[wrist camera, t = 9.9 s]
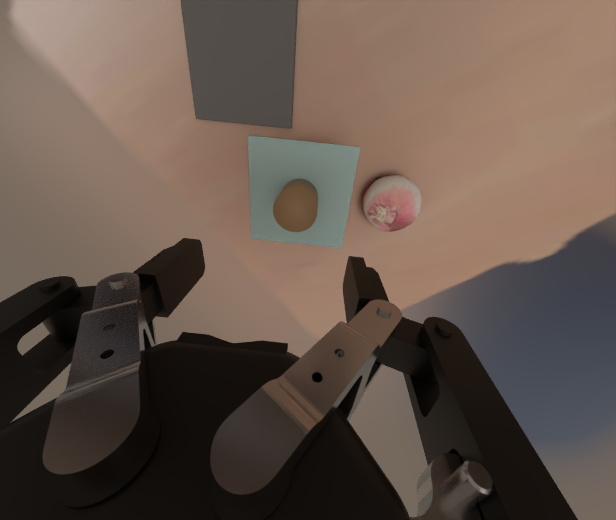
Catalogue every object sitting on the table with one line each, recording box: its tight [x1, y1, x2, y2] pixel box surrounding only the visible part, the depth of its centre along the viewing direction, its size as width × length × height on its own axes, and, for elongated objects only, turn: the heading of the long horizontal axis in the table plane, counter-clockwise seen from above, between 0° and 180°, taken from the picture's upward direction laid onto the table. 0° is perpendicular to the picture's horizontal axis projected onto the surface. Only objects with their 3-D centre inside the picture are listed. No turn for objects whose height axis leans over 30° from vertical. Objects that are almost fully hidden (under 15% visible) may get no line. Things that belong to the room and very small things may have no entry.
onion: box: [363, 175, 422, 232], centre depth 32 cm, size 8×8×7 cm
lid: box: [248, 135, 360, 248], centre depth 23 cm, size 11×11×6 cm
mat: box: [181, 0, 298, 128], centre depth 28 cm, size 13×13×1 cm
